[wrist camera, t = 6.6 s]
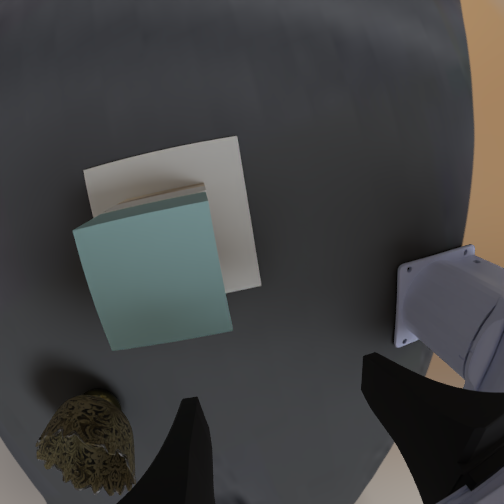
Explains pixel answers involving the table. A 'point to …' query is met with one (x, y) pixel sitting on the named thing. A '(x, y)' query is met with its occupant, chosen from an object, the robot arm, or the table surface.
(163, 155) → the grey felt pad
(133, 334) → the teal block
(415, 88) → the table surface
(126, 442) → the olive lace dome
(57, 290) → the table surface
